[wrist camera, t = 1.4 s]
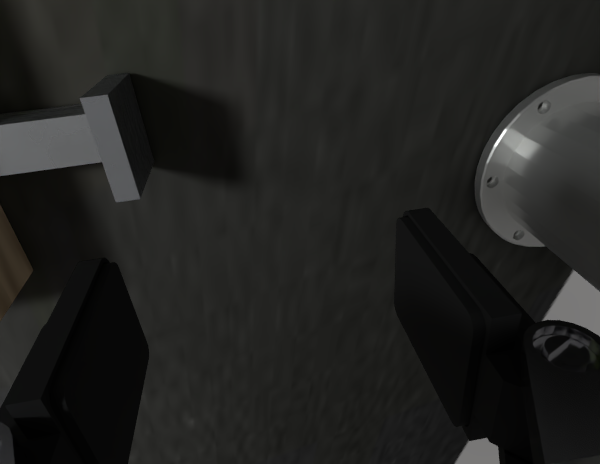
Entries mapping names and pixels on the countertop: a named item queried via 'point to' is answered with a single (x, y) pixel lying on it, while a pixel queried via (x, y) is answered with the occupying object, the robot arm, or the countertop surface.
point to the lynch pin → (83, 137)
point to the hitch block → (11, 265)
